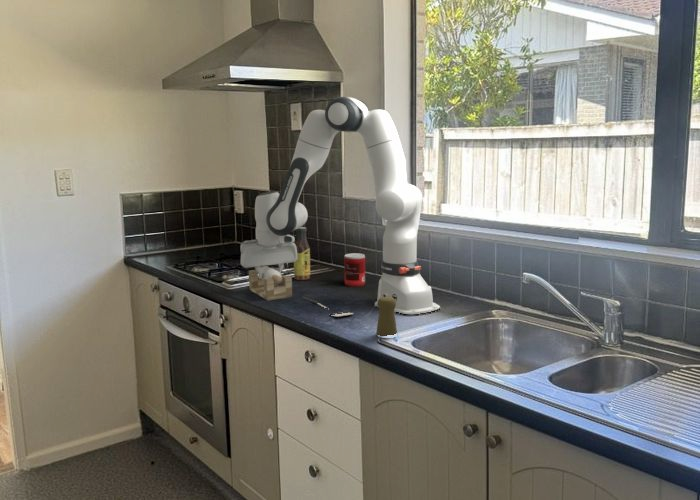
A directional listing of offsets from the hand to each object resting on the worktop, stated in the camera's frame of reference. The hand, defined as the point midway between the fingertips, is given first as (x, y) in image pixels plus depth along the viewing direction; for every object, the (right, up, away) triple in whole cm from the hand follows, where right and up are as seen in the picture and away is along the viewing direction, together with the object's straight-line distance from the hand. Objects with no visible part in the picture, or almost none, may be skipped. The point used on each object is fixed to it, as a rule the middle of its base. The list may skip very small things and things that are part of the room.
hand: (269, 277), depth 235 cm
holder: (0, -6, +1) cm, 6 cm away
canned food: (+30, -3, +13) cm, 33 cm away
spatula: (+19, -10, -17) cm, 27 cm away
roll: (0, -2, 0) cm, 2 cm away
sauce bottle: (+10, -2, +22) cm, 24 cm away
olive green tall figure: (+38, -15, -46) cm, 62 cm away
